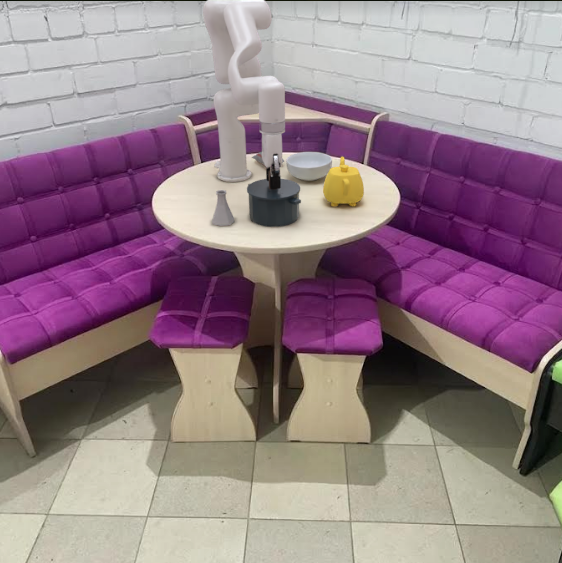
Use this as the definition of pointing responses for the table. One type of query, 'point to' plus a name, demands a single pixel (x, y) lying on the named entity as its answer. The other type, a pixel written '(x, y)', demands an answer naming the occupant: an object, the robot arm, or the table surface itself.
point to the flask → (222, 210)
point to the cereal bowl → (309, 165)
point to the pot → (274, 211)
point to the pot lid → (264, 192)
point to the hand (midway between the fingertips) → (273, 183)
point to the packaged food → (260, 158)
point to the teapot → (343, 185)
